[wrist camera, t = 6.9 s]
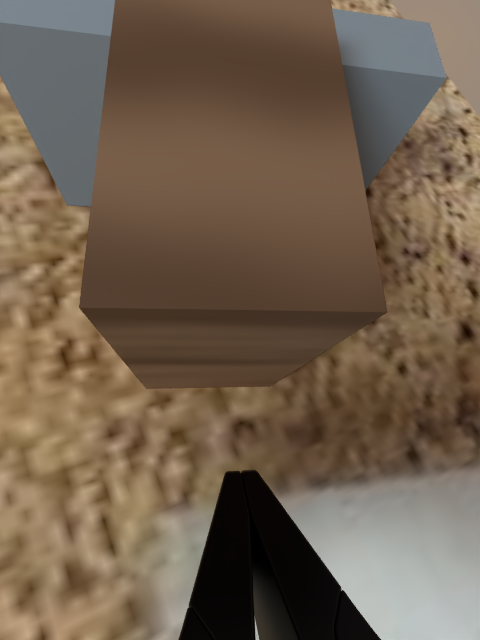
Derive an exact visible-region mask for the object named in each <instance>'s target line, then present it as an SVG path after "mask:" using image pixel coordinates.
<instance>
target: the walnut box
mask: <svg viewBox="0 0 480 640" xmlns="http://www.w3.org/2000/svg"><path fill="white" fill-rule="evenodd" d="M79 308H80V309H81V310H82V312H83V313H84V314H85V315H86V317H87V318H88V319H89V320H90V321H91V323H92V324H93V325H94V326H95V327H96V329H97V330H98V331H99V332H100V333H101V335H102V336H103V337H104V338H105V339H106V341H107V342H108V343H109V344H110V345H111V347H112V348H113V349H114V350H115V352H116V353H117V354H118V355H119V356H120V358H121V359H122V360H123V361H124V362H125V364H126V365H127V366H128V367H129V368H130V370H131V371H132V372H133V373H134V374H135V376H136V377H137V378H138V379H139V380H140V382H141V383H142V384H143V385H144V386H145V388H146V389H156V388H211V387H265V386H271V385H273V384H274V383H276V382H277V381H279V380H280V379H282V378H284V377H285V376H287V375H288V374H290V373H292V372H293V371H295V370H296V369H298V368H299V367H301V366H303V365H304V364H306V363H307V362H309V361H311V360H312V359H314V358H315V357H317V356H319V355H320V354H322V353H323V352H325V351H326V350H328V349H330V348H331V347H333V346H334V345H336V344H338V343H339V342H341V341H342V340H344V339H346V338H347V337H349V336H350V335H352V334H353V333H355V332H357V331H358V330H360V329H361V328H363V327H365V326H366V325H368V324H369V323H371V322H372V321H374V320H376V319H377V318H379V317H380V316H382V315H384V314H385V313H387V307H386V302H385V296H384V291H383V285H382V280H381V274H380V269H379V263H378V258H377V252H376V247H375V241H374V236H373V230H372V225H371V219H370V214H369V208H368V203H367V197H366V192H365V186H364V181H363V175H362V170H361V164H360V159H359V153H358V148H357V142H356V137H355V131H354V126H353V120H352V115H351V109H350V104H349V99H348V93H347V88H346V82H345V77H344V71H343V66H342V60H341V55H340V49H339V44H338V38H337V33H336V27H335V22H334V16H333V11H332V5H331V0H115V5H114V13H113V22H112V30H111V39H110V47H109V56H108V65H107V73H106V82H105V90H104V99H103V107H102V116H101V125H100V133H99V142H98V150H97V159H96V167H95V176H94V185H93V193H92V202H91V210H90V219H89V228H88V236H87V245H86V253H85V262H84V270H83V279H82V288H81V296H80V305H79Z"/></svg>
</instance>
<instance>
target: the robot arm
mask: <svg viewBox="0 0 480 640" xmlns="http://www.w3.org/2000/svg"><path fill="white" fill-rule="evenodd" d="M254 615H255V617H254ZM255 620H256V625H257V630H258V635H259V640H381V639H380V638H379V637H378V635H377V634H376V633H375V632H374V631H373V629H372V628H371V627H370V625H369V624H368V623H367V621H366V620H365V619H364V617H363V616H362V615H361V613H360V612H359V611H358V610H357V608H356V607H355V605H354V604H353V603H352V601H351V600H350V599H349V597H348V596H347V594H346V593H345V592H344V591H343V590H342V591H341V586H340V585H339V584H338V582H337V581H336V579H335V578H334V577H333V575H332V574H331V572H330V571H329V570H328V568H327V567H326V566H325V564H324V563H323V561H322V560H321V559H320V557H319V556H318V555H317V553H316V552H315V550H314V549H313V548H312V546H311V545H310V543H309V542H308V541H307V539H306V538H305V537H304V535H303V534H302V532H301V531H300V530H299V528H298V527H297V526H296V524H295V523H294V521H293V520H292V519H291V517H290V516H289V514H288V513H287V512H286V510H285V509H284V508H283V506H282V505H281V503H280V502H279V501H278V499H277V498H276V497H275V495H274V494H273V492H272V491H271V490H270V488H269V487H268V485H267V484H266V483H265V481H264V480H263V479H262V477H261V476H260V474H259V473H258V472H257V471H256V470H244V471H242V472H240V471H227V472H226V473H225V475H224V479H223V482H222V486H221V490H220V493H219V497H218V500H217V504H216V508H215V511H214V515H213V519H212V522H211V526H210V529H209V533H208V537H207V540H206V544H205V548H204V551H203V555H202V558H201V562H200V566H199V569H198V573H197V577H196V580H195V584H194V587H193V591H192V595H191V598H190V602H189V608H188V609H187V612H186V616H185V619H184V623H183V627H182V630H181V633H180V637H179V640H255Z"/></svg>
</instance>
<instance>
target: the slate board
mask: <svg viewBox="0 0 480 640" xmlns="http://www.w3.org/2000/svg"><path fill="white" fill-rule="evenodd" d="M114 5H115V0H0V76H1V78H2V80H3V82H4V84H5V86H6V88H7V90H8V92H9V94H10V95H11V97H12V99H13V101H14V103H15V105H16V107H17V109H18V111H19V113H20V115H21V117H22V119H23V121H24V123H25V125H26V126H27V128H28V130H29V132H30V134H31V136H32V138H33V140H34V142H35V144H36V146H37V148H38V150H39V152H40V154H41V156H42V157H43V159H44V161H45V163H46V165H47V167H48V169H49V171H50V173H51V175H52V177H53V179H54V181H55V183H56V185H57V187H58V189H59V190H60V192H61V194H62V196H63V198H64V200H65V202H66V204H67V205H74V206H91V202H92V193H93V185H94V176H95V167H96V159H97V150H98V142H99V133H100V125H101V116H102V107H103V99H104V90H105V82H106V73H107V65H108V56H109V47H110V39H111V30H112V22H113V13H114ZM332 11H333V16H334V22H335V27H336V33H337V38H338V44H339V49H340V55H341V60H342V66H343V71H344V77H345V82H346V88H347V93H348V99H349V104H350V109H351V115H352V120H353V126H354V131H355V137H356V142H357V148H358V153H359V159H360V164H361V170H362V175H363V181H364V186H365V191H366V189H367V188H368V186H369V185H370V184H371V182H372V181H373V179H374V178H375V177H376V175H377V174H378V172H379V171H380V170H381V168H382V167H383V166H384V164H385V163H386V161H387V160H388V159H389V157H390V156H391V154H392V153H393V152H394V150H395V149H396V147H397V146H398V145H399V143H400V142H401V140H402V139H403V138H404V136H405V135H406V134H407V132H408V131H409V129H410V128H411V127H412V125H413V124H414V122H415V121H416V120H417V118H418V117H419V115H420V114H421V113H422V111H423V110H424V109H425V107H426V106H427V104H428V103H429V102H430V100H431V99H432V97H433V96H434V95H435V93H436V92H437V90H438V89H439V88H440V86H441V85H442V84H443V82H444V81H445V79H446V74H445V71H444V68H443V65H442V62H441V58H440V55H439V52H438V48H437V45H436V42H435V39H434V36H433V32H432V29H431V26H430V23H426V22H419V21H412V20H406V19H399V18H392V17H386V16H379V15H372V14H365V13H359V12H352V11H345V10H339V9H332Z"/></svg>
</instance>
